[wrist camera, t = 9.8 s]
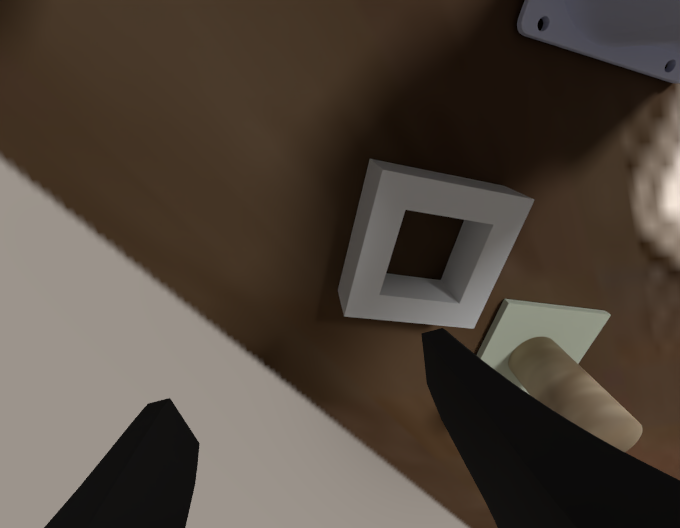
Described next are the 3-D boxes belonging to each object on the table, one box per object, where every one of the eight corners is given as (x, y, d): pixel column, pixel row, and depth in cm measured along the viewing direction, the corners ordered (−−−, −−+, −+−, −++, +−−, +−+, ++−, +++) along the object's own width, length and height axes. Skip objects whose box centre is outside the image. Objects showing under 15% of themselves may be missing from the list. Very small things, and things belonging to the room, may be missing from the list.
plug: (554, 329, 23) (644, 410, 17) (558, 363, 24) (641, 447, 19) (504, 349, 23) (576, 436, 17) (512, 381, 25) (579, 471, 19)
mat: (604, 310, 23) (611, 314, 23) (549, 394, 27) (554, 399, 26) (504, 298, 22) (508, 303, 21) (459, 389, 25) (462, 395, 25)
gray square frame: (504, 185, 18) (534, 199, 16) (454, 303, 21) (473, 328, 19) (369, 158, 16) (382, 169, 14) (337, 290, 20) (344, 316, 17)
